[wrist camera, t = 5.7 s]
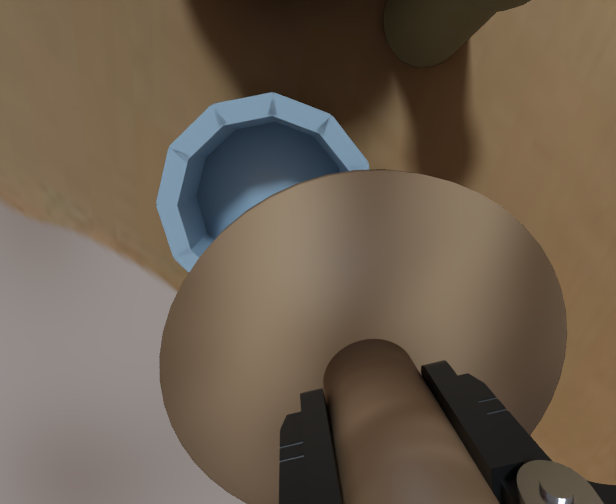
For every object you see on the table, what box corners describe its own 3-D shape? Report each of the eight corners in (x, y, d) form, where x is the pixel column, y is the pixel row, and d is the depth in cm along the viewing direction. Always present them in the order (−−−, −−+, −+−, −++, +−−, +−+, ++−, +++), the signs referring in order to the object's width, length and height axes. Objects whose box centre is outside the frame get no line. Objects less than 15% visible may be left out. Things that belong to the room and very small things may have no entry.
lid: (545, 123, 10) (1021, 75, 4) (545, 459, 15) (767, 722, 8) (106, 224, 10) (-222, 361, 4) (232, 531, 14) (188, 856, 8)
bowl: (341, 91, 24) (357, 75, 19) (366, 260, 28) (384, 286, 22) (164, 127, 24) (128, 120, 19) (213, 290, 28) (195, 324, 22)
